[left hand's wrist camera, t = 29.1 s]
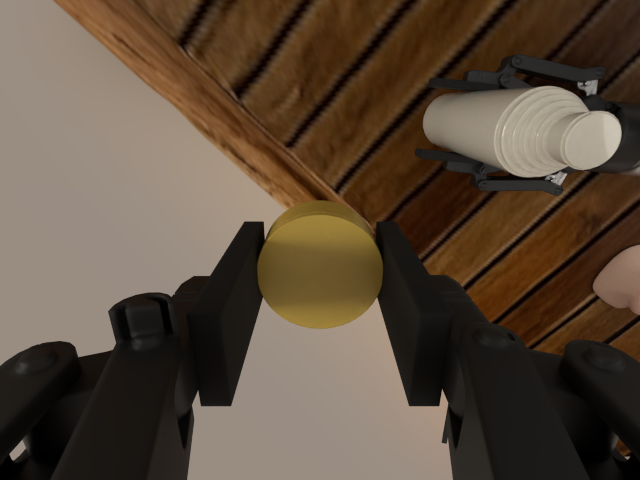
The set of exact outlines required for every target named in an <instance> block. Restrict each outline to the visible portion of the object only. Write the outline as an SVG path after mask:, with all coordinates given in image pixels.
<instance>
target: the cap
mask: <svg viewBox="0 0 640 480" xmlns="http://www.w3.org/2000/svg"><path fill="white" fill-rule="evenodd" d="M257 273H258V285H259V289H260V291H261V293H262V296H263V297H264V299H265V301H266V302H267V304H268V305H269V306H270V307H271V308H272V309H273V310H274V311H275V312H276V313H277V314H278V315H280V316H281V317H282V318H284V319H286V320H287V321H289V322H291V323H294V324H296V325H299V326H303V327H308V328H316V329H324V328H332V327H337V326H341V325H344V324H346V323H349V322H351V321H353V320H355V319H356V318H358V317H359V316H361V315H362V314H363V313H364V312H365V311H367V310H368V309H369V307H370V306H371V305H372V304H373V302H374V301H375V299H376V298H377V296H378V294H379V292H380V289H381V286H382V277H383V261H382V257H381V254H380V251H379V249H378V246H377V244H376V241H375V239H374V236H373V234H372V232H371V229H370V228H369V226H368V225H367V223H366V222H365V221H364V220H363V218H362V217H361V216H359V215H358V214H357V213H356V212H355V211H353V210H352V209H350V208H348V207H346V206H344V205H341V204H338V203H335V202H330V201H310V202H305V203H302V204H299V205H296V206H294V207H292V208H290V209H289V210H287V211H286V212H284V213H283V214H282V215H281V216H280V217H279V218H278V219H277V220H276V221H275V222H274V224H273V225H272V226H271V228H270V230H269V232H268V234H267V237H266V239H265V242H264V244H263V247H262V249H261V252H260V255H259V258H258V262H257Z"/></svg>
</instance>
